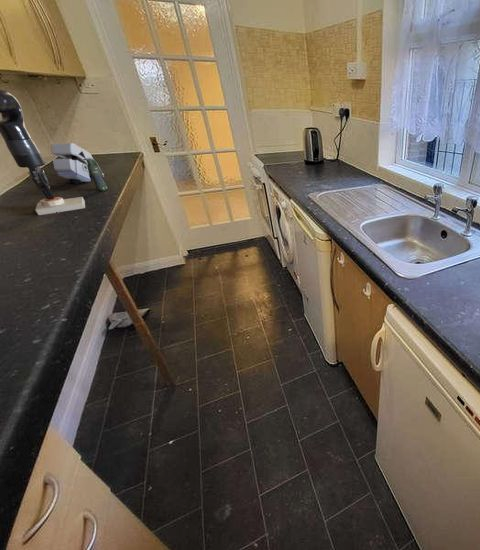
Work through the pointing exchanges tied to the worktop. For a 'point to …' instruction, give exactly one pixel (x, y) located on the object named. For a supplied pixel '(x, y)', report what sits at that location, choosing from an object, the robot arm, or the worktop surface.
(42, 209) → the button base
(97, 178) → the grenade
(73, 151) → the robotic device
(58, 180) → the worktop surface
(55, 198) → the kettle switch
